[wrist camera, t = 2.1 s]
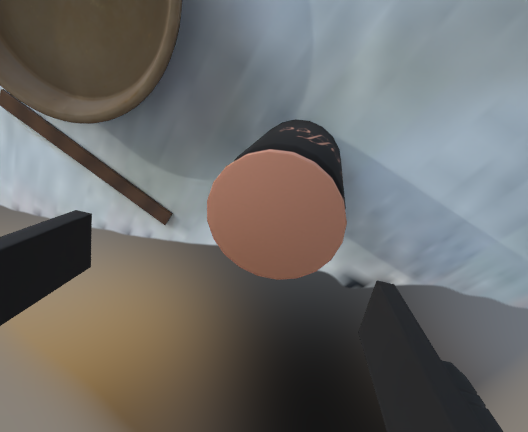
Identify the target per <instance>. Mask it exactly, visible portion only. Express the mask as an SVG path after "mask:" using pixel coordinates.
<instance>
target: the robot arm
mask: <svg viewBox="0 0 528 432" xmlns="http://www.w3.org/2000/svg"><path fill="white" fill-rule="evenodd" d="M91 220H92V214H90V213H86V212H82V211H77V210H75V211H72V212H69V213H67V214H64V215H61V216H58V217H55V218H52V219H50V220H47V221H44V222H41V223H38V224H36V225H33V226H30V227H27V228H24V229H22V230H19V231H16V232H13V233H11V234H7V235H5V236H2V237H0V326H1V325H2V324H4V323H5V322H7V321H8V320H10V319H11V318H13V317H14V316H16V315H17V314H19V313H21V312H22V311H24V310H25V309H27V308H28V307H30V306H31V305H33V304H34V303H36V302H38V301H39V300H41V299H42V298H44V297H45V296H47V295H48V294H50V293H51V292H53V291H54V290H56V289H57V288H59V287H61V286H62V285H63V284H65V283H67V282H68V281H70V280H71V279H73V278H74V277H76V276H77V275H79V274H81V273H82V272H84V271H85V270H86V269H88V268H90V267H91ZM358 333H359V337H360V340H361V344H362V347H363V351H364V354H365V357H366V361H367V364H368V368H369V371H370V375H371V378H372V381H373V385H374V388H375V392H376V395H377V398H378V402H379V406H380V409H381V412H382V416H383V419H384V423H385V426H386V430H387V432H503V431H502V429H501V427H500V426H499V425H498V423H497V422H496V420H495V419H494V417H493V416H492V414H491V413H490V411H489V410H488V409H486V408H485V404H484V402H483V401H482V399H481V398H480V396H478V395H477V392H476V391H475V389H474V388H473V386H472V385H471V383H470V382H469V380H468V379H467V378H466V376H465V375H464V374H463V373H462V372H460V371H459V370H458V369H457V368H456V367H455V366H454V365H453V364H452V363H450V362H446V361H442V360H440V358H439V356H438V355H437V353H436V351H435V350H434V348H433V346H432V345H431V343H430V342H429V340H428V338H427V337H426V335H425V333H424V332H423V330H422V329H421V327H420V325H419V324H418V322H417V320H416V319H415V317H414V316H413V314H412V312H411V311H410V309H409V307H408V306H407V304H406V303H405V301H404V299H403V298H402V296H401V295H400V293H399V291H398V290H397V288H396V286H395V285H394V284H390V283H386V282H381V281H376V284H375V287H374V289H373V292H372V295H371V298H370V301H369V303H368V306H367V309H366V312H365V315H364V317H363V320H362V323H361V326H360V329H359V331H358Z"/></svg>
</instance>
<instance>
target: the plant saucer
mask: <svg viewBox="0 0 528 432" xmlns="http://www.w3.org/2000/svg"><path fill="white" fill-rule="evenodd" d="M181 11H182V0H0V86H2V87H3V88H4V89H5V90H6V91H8V92H9V93H10V94H11V95H13V96H14V97H15V98H17V99H18V100H20V101H21V102H23V103H24V104H26V105H28V106H29V107H31V108H33V109H35V110H37V111H39V112H41V113H43V114H45V115H47V116H50V117H53V118H56V119H59V120H63V121H67V122H73V123H88V124H89V123H99V122H104V121H109V120H112V119H115V118H117V117H120V116H122V115H124V114H126V113H128V112H129V111H131V110H132V109H134V108H135V107H137V106H138V105H139V104H140V103H141V102H142V101H143V100H145V98H146V97H147V96H148V95H149V94H150V93H151V92H152V91H153V89H154V88H155V87H156V85H157V84H158V82H159V81H160V79H161V77H162V76H163V74H164V72H165V70H166V68H167V66H168V63H169V61H170V59H171V56H172V53H173V50H174V47H175V44H176V40H177V36H178V31H179V26H180V19H181Z"/></svg>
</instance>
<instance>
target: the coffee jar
mask: <svg viewBox="0 0 528 432" xmlns="http://www.w3.org/2000/svg"><path fill="white" fill-rule="evenodd" d="M345 209H346V207H345V197H344V187H343V177H342V167H341V159H340V151H339V148H338V146H337V144H336V142H335V140H334V138H333V137H332V136H331V135H330V134H329V133H328V132H327V131H326V130H325V129H324V128H323V127H321V126H319V125H317V124H315V123H313V122H311V121H303V120H292V121H288V122H283V123H281V124H279V125H278V126H276V127H274V128H273V129H271V130H270V131H268V132H267V133H266V134H265V135H264V136H262V137H261V138H260V139H259V140H257V141H256V142H255V143H254V144H253V145H251V146H250V147H249V148H248V149H246V150H245V151H244V152H243V153H242V154H240V155H239V156H238V157H237V158H236V159H235V160H234V162H233V163H231V164H229V165H228V166H226V167H225V169H224V170H223V171H222V172H221V174H220V175H219V176H218V177H217V178H216V180H215V181H214V182H213V185H212V188H211V191H210V194H209V197H208V200H207V221H208V224H209V227H210V230H211V233H212V236H213V238H214V240H215V241H216V243H217V244H218V246H219V247H220V249H221V250H222V251H223V253H224V254H225V255H226V256H227V257H228V258H229V259H231V260H232V261H233V262H234V263H235V264H237V265H238V266H239V267H240V268H242V269H245V270H247V271H249V272H251V273H253V274H255V275H257V276H261V277H267V278H272V279H277V280H278V279H293V278H299V277H302V276H305V275H308V274H310V273H313V272H316V271H317V270H318V269H320V268H321V267H322V266H324V265H325V264H326V263H328V262H329V261H330V260H331V259H332V258H333V256H334V255H335V253H336V252H337V250H338V249H339V247H340V245H341V244H342V242H343V237H344V233H345V229H346V224H347V220H346V213H345Z"/></svg>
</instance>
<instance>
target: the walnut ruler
mask: <svg viewBox="0 0 528 432" xmlns="http://www.w3.org/2000/svg"><path fill="white" fill-rule="evenodd" d="M0 106H2V107H3V108H4V109H6V110H7V111H9V112H10V113H11V114H13V115H14V116H15V117H17V118H18V119H20V120H21V121H22V122H24V123H25V124H26V125H28V126H29V127H31V128H32V129H33V130H35V131H36V132H37V133H39V134H40V135H42V136H43V137H44V138H46V139H47V140H48V141H50V142H51V143H53V144H54V145H55V146H57V147H58V148H59V149H61V150H62V151H64V152H65V153H66V154H68V155H69V156H70V157H72V158H73V159H75V160H76V161H77V162H79V163H80V164H81V165H83V166H84V167H86V168H87V169H88V170H90V171H91V172H92V173H94V174H95V175H97V176H98V177H99V178H101V179H102V180H103V181H105V182H106V183H108V184H109V185H110V186H112V187H113V188H114V189H116V190H117V191H119V192H120V193H121V194H123V195H124V196H125V197H127V198H128V199H130V200H131V201H132V202H134V203H135V204H136V205H138V206H139V207H141V208H142V209H143V210H145V211H146V212H147V213H149V214H150V215H152V216H153V217H154V218H156V219H157V220H158V221H160V222H161V223H163V224H164V225H166V223H167V222H168V220H169V219H170V217H171V215H172V213H171V212H170V211H168V210H167V209H166V208H164V207H163V206H162V205H160V204H159V203H158V202H156V201H155V200H153V199H152V198H151V197H149V196H148V195H147V194H145V193H144V192H143V191H141V190H140V189H138V188H137V187H136V186H134V185H133V184H132V183H130V182H129V181H128V180H126V179H125V178H124V177H122V176H121V175H119V174H118V173H117V172H115V171H114V170H113V169H111V168H110V167H109V166H107V165H106V164H104V163H103V162H102V161H100V160H99V159H98V158H96V157H95V156H94V155H92V154H91V153H89V152H88V151H87V150H85V149H84V148H83V147H81V146H80V145H79V144H77V143H76V142H75V141H73V140H72V139H70V138H69V137H68V136H66V135H65V134H64V133H62V132H61V131H60V130H58V129H57V128H55V127H54V126H53V125H51V124H50V123H49V122H47V121H46V120H45V119H43V118H42V117H40V116H39V115H38V114H36V113H35V112H34V111H32V110H31V109H30V108H28V107H27V106H26V105H24V104H23V103H21V102H20V101H19V100H17V99H16V98H15V97H13V96H12V95H11V94H9V93H8V92H6V91H5V90H4V89H1V92H0Z"/></svg>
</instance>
